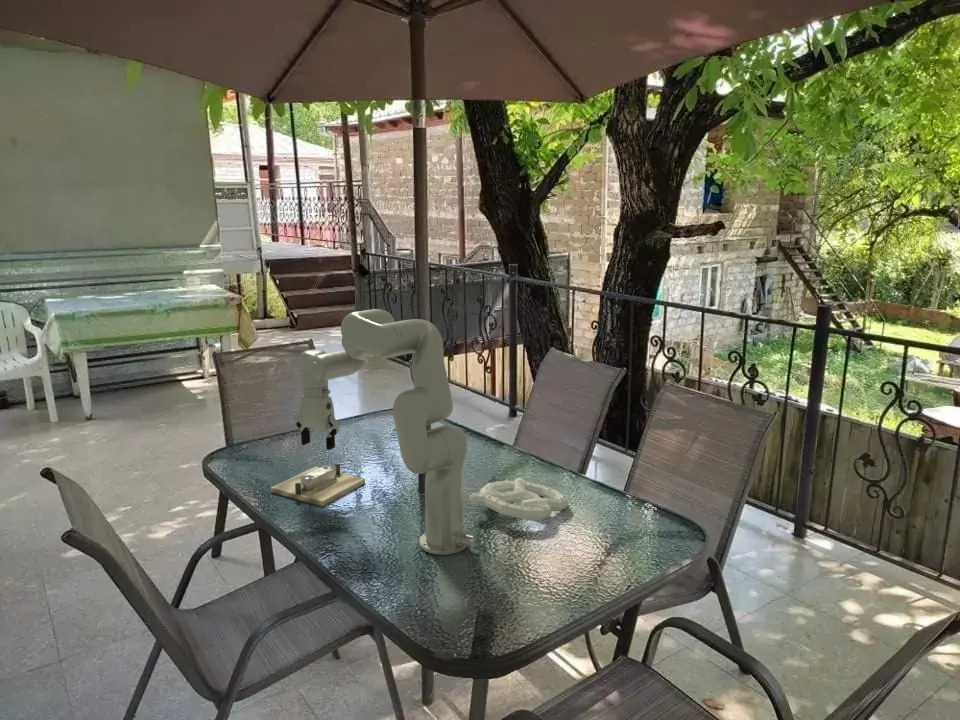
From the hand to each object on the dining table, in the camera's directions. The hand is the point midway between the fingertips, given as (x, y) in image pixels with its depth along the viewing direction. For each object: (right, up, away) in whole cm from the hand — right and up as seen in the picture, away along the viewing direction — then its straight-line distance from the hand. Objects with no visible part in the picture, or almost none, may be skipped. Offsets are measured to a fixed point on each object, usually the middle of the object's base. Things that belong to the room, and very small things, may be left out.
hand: (318, 446), depth 212 cm
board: (-1, -13, +3) cm, 14 cm away
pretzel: (+61, -17, -9) cm, 64 cm away
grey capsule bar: (0, -12, +3) cm, 12 cm away
